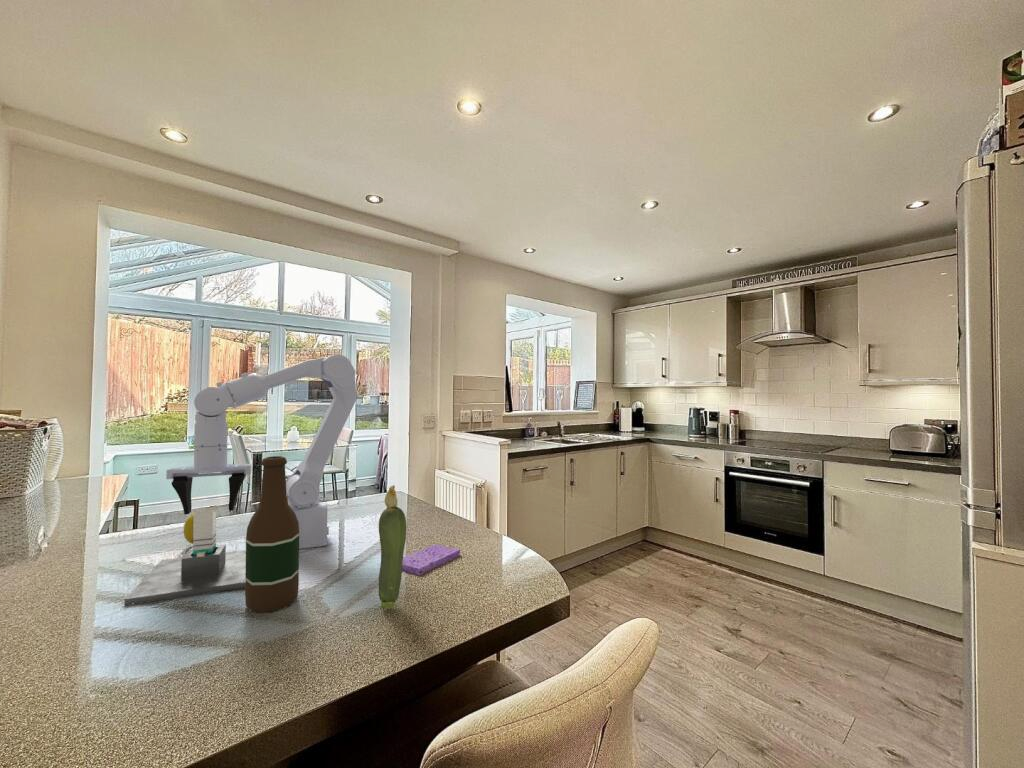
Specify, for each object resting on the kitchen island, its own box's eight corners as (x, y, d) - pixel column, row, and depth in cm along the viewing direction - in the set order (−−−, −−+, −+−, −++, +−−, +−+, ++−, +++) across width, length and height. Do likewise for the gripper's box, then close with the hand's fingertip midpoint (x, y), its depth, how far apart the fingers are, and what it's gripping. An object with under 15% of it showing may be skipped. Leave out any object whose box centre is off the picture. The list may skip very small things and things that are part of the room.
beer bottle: (308, 596, 76) (310, 455, 76) (270, 618, 68) (272, 462, 69) (273, 589, 78) (275, 453, 79) (233, 609, 71) (235, 459, 71)
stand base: (264, 552, 96) (264, 528, 96) (251, 586, 79) (252, 558, 79) (161, 564, 89) (162, 539, 89) (124, 605, 72) (125, 573, 72)
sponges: (393, 570, 88) (393, 560, 88) (436, 551, 99) (436, 542, 99) (419, 578, 84) (419, 568, 84) (460, 557, 95) (460, 548, 95)
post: (216, 549, 86) (216, 507, 86) (212, 554, 83) (213, 511, 83) (196, 551, 85) (197, 509, 85) (192, 556, 82) (193, 513, 82)
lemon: (219, 542, 102) (220, 507, 102) (200, 551, 96) (200, 514, 96) (197, 541, 102) (197, 506, 103) (176, 550, 97) (177, 513, 97)
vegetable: (381, 601, 74) (382, 481, 74) (407, 600, 74) (408, 480, 75) (375, 614, 70) (376, 486, 70) (403, 613, 70) (404, 486, 70)
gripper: (161, 449, 86) (160, 520, 85) (248, 446, 91) (247, 512, 91) (173, 445, 92) (172, 510, 92) (253, 442, 98) (252, 504, 98)
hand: (210, 511), depth 92 cm, fingers open, 7 cm apart
